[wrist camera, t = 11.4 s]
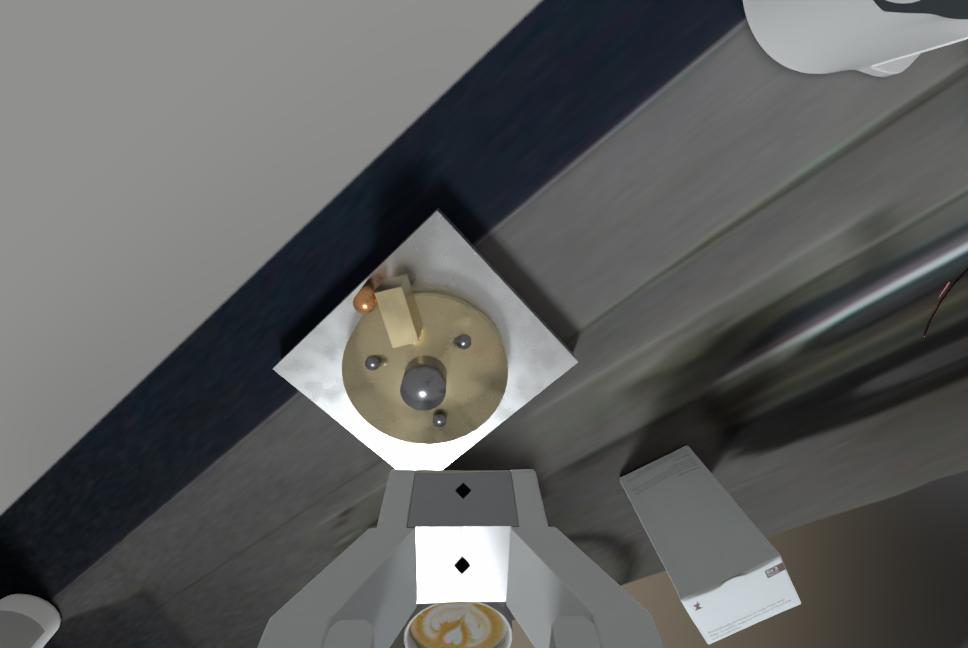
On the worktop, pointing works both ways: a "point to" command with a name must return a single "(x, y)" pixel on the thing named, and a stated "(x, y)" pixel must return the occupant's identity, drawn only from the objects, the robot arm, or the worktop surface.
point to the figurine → (942, 299)
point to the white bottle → (27, 621)
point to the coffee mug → (459, 625)
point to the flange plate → (439, 341)
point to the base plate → (444, 268)
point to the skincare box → (708, 546)
